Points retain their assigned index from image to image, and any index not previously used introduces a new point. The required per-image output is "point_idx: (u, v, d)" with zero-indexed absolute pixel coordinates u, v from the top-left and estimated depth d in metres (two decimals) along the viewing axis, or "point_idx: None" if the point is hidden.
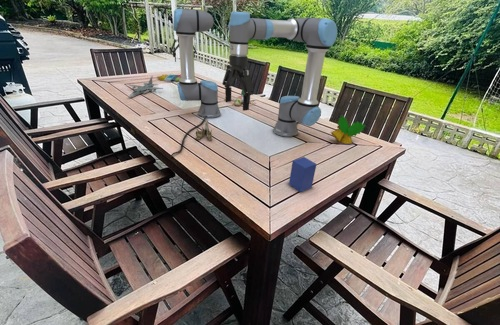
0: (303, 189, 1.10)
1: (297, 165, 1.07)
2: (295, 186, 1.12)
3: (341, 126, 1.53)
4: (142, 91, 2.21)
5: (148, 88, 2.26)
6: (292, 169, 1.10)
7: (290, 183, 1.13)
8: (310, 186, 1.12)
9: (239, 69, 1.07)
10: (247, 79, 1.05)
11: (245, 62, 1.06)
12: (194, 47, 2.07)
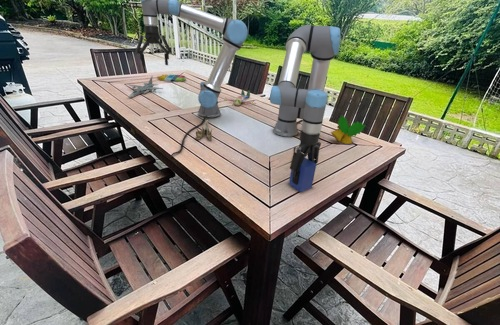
0: (303, 189, 1.10)
1: None
2: (295, 186, 1.12)
3: (341, 126, 1.53)
4: (142, 91, 2.21)
5: (148, 88, 2.26)
6: None
7: (290, 183, 1.13)
8: (310, 186, 1.12)
9: None
10: (294, 156, 1.03)
11: (304, 139, 1.00)
12: (168, 45, 1.54)
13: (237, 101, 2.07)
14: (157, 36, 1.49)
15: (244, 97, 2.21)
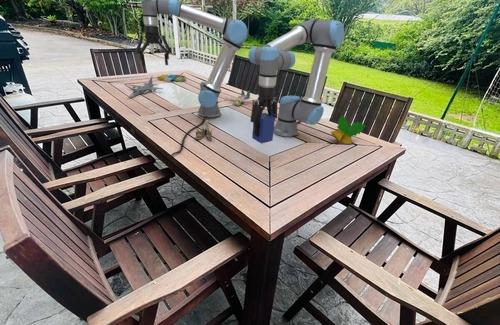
0: (264, 141, 1.23)
1: None
2: (257, 139, 1.24)
3: (341, 126, 1.53)
4: (142, 91, 2.21)
5: (148, 88, 2.26)
6: None
7: (253, 136, 1.26)
8: (270, 139, 1.25)
9: None
10: (253, 108, 1.15)
11: (261, 92, 1.12)
12: (168, 45, 1.54)
13: (237, 101, 2.07)
14: (157, 36, 1.49)
15: (244, 97, 2.21)
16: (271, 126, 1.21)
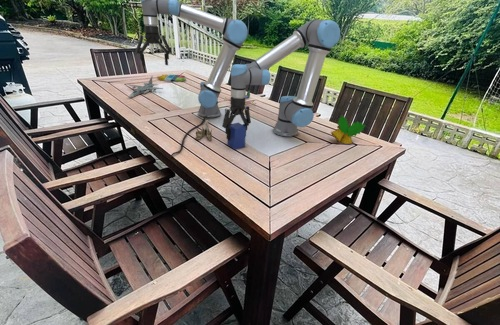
0: (237, 147, 1.42)
1: (230, 127, 1.38)
2: (231, 145, 1.43)
3: (341, 126, 1.53)
4: (142, 91, 2.21)
5: (148, 88, 2.26)
6: None
7: (228, 143, 1.45)
8: (243, 145, 1.44)
9: None
10: (225, 115, 1.33)
11: (232, 103, 1.31)
12: (168, 45, 1.54)
13: None
14: (157, 36, 1.49)
15: None
16: (243, 134, 1.40)
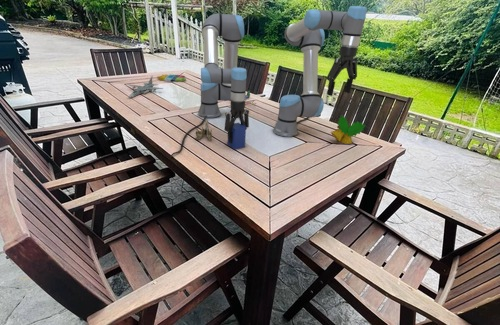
0: (236, 147, 1.42)
1: None
2: (231, 145, 1.43)
3: (341, 126, 1.53)
4: (142, 91, 2.21)
5: (148, 88, 2.26)
6: None
7: (228, 143, 1.45)
8: (243, 145, 1.44)
9: None
10: (333, 66, 1.17)
11: (344, 52, 1.15)
12: (248, 120, 1.41)
13: None
14: (242, 110, 1.36)
15: None
16: (243, 134, 1.40)
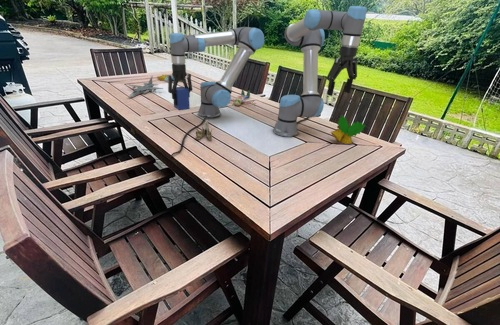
0: (181, 108, 1.56)
1: None
2: (176, 107, 1.57)
3: (341, 126, 1.53)
4: (142, 91, 2.21)
5: (148, 88, 2.26)
6: None
7: (174, 105, 1.59)
8: (187, 107, 1.58)
9: None
10: (333, 66, 1.17)
11: (344, 52, 1.15)
12: (191, 84, 1.56)
13: (237, 101, 2.07)
14: (183, 73, 1.50)
15: (244, 97, 2.21)
16: (186, 96, 1.54)
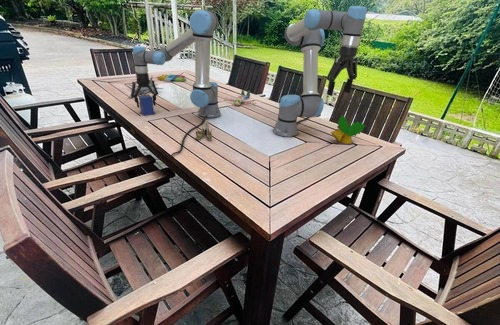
0: (146, 113, 1.78)
1: (139, 97, 1.75)
2: (142, 112, 1.79)
3: (341, 126, 1.53)
4: (142, 91, 2.21)
5: (148, 88, 2.26)
6: (139, 101, 1.78)
7: (141, 111, 1.81)
8: (152, 112, 1.80)
9: None
10: (333, 66, 1.17)
11: (344, 52, 1.15)
12: None
13: (237, 101, 2.07)
14: (147, 81, 1.72)
15: (244, 97, 2.21)
16: (150, 103, 1.77)
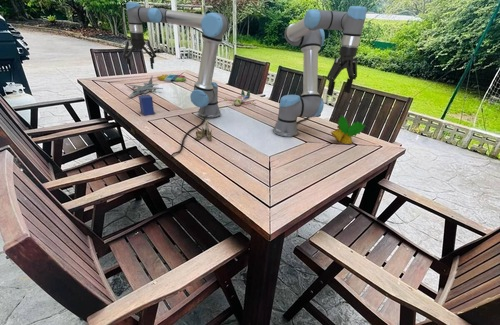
0: (146, 113, 1.78)
1: (139, 97, 1.75)
2: (142, 112, 1.79)
3: (341, 126, 1.53)
4: (142, 91, 2.21)
5: (148, 88, 2.26)
6: (139, 101, 1.78)
7: (141, 111, 1.81)
8: (152, 112, 1.80)
9: None
10: (333, 66, 1.17)
11: (344, 52, 1.15)
12: None
13: (237, 101, 2.07)
14: (142, 42, 1.60)
15: (244, 97, 2.21)
16: (150, 103, 1.77)
